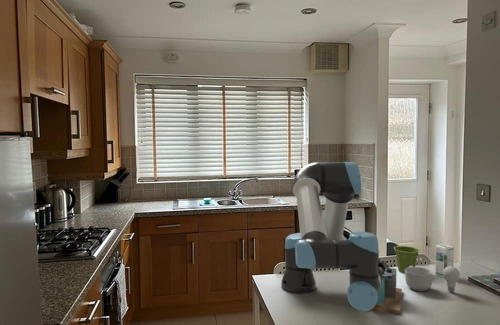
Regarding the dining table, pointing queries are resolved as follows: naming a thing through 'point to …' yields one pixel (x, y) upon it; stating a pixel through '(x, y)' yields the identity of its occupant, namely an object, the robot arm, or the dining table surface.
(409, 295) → the dining table surface
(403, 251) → the plant pot
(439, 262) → the syrup box
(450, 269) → the lightbulb
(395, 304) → the base board
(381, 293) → the teal rectangular block
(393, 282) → the grey rectangular block
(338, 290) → the dining table surface
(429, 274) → the teacup
